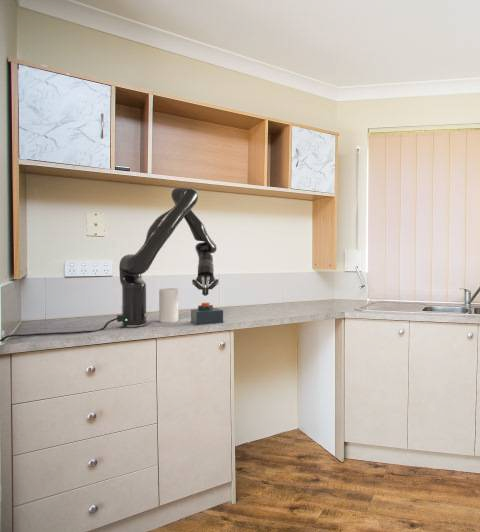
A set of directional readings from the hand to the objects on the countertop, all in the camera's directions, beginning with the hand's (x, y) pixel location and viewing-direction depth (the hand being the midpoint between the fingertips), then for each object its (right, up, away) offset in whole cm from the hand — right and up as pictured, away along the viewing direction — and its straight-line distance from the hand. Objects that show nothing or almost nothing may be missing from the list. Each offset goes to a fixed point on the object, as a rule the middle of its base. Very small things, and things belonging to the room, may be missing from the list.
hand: (205, 294), depth 198 cm
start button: (+1, -6, -2) cm, 6 cm away
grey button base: (+3, -13, -4) cm, 14 cm away
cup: (-17, -13, -2) cm, 22 cm away
